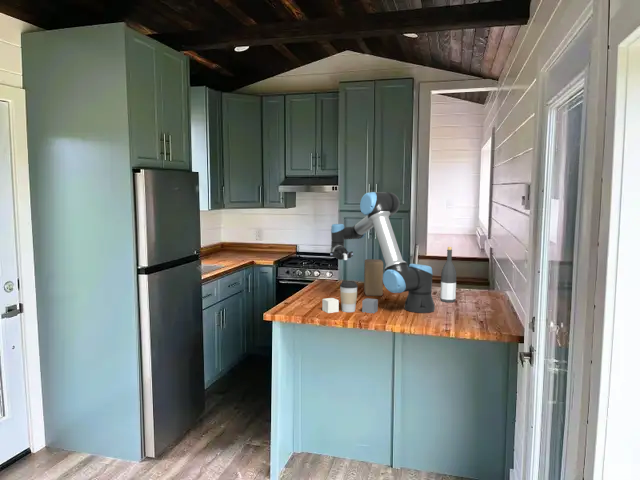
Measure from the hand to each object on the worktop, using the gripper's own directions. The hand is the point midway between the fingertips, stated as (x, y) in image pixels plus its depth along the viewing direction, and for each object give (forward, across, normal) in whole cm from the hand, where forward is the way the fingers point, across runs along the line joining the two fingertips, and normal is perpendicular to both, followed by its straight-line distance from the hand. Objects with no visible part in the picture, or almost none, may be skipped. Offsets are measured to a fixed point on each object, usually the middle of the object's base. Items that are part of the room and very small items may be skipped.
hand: (345, 257), depth 248 cm
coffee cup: (+8, 0, -26) cm, 28 cm away
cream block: (+9, +9, -26) cm, 29 cm away
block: (-28, -20, -26) cm, 43 cm away
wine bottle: (-9, -58, -26) cm, 64 cm away
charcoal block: (+11, -11, -26) cm, 30 cm away
